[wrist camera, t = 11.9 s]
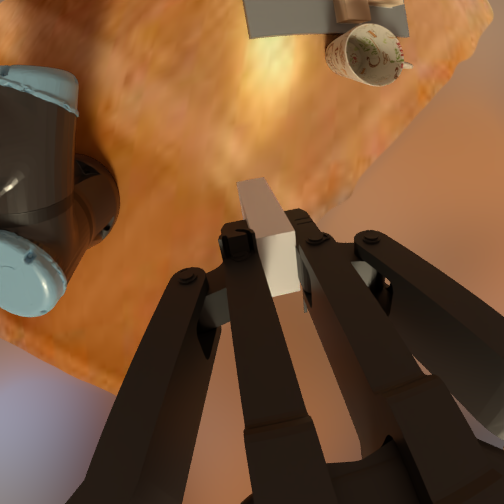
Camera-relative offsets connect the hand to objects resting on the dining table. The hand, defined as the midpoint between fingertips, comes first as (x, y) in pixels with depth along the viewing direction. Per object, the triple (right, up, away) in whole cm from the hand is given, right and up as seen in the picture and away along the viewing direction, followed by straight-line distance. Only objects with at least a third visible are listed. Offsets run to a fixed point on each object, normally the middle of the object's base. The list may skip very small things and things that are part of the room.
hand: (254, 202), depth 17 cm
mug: (+15, +26, +22) cm, 37 cm away
